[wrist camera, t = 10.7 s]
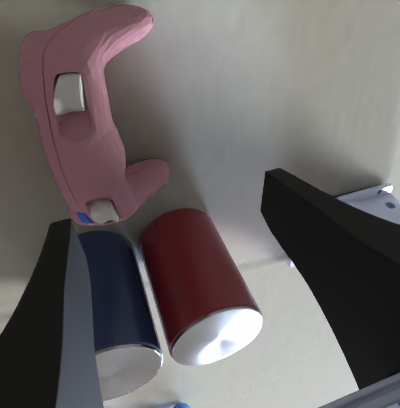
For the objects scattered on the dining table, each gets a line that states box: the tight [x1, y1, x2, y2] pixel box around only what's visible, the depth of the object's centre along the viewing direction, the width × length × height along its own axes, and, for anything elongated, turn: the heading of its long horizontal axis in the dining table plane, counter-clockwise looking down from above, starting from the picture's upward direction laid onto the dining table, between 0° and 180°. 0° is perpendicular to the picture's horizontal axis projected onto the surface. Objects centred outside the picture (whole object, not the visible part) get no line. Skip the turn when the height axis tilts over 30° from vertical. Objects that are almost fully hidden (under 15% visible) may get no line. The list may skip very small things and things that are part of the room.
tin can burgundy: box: [139, 209, 262, 366], centre depth 24 cm, size 6×6×9 cm
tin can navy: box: [78, 231, 163, 401], centre depth 22 cm, size 6×6×9 cm
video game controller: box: [19, 5, 171, 226], centre depth 16 cm, size 10×5×7 cm, turn 2°
